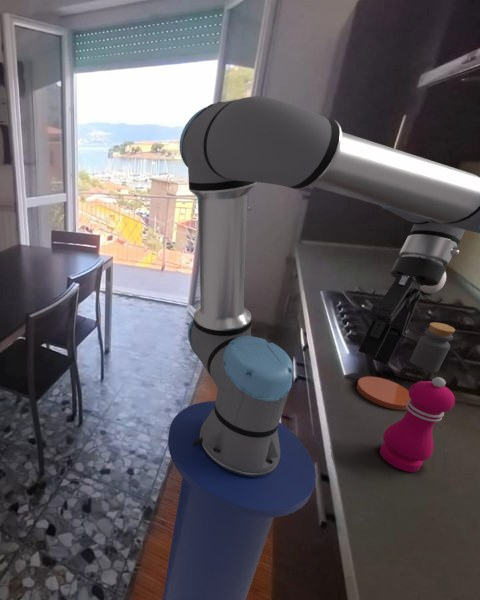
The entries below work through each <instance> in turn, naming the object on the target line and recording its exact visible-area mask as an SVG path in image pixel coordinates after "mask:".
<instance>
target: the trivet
mask: <svg viewBox="0 0 480 600" xmlns="http://www.w3.org/2000/svg"><path fill="white" fill-rule="evenodd" d="M356 390H357V392H358V393H359V394H360V395H361V396H362V397H363V398H365V399H366V400H368V401H369V402H371V403H373V404H375V405H378V406H381V407H382V408H386V409H391V410H396V411H404V410H408V409H407V408H406V404H407V403H408V400H409V399H410V397H409V390H408V389H407V388H405V387H404V386H402V385H400V384H399V383H397V382H395V381H392V380H390V379H386V378H383V377H378V376H363V377H360V378H359V379H358V380H357V384H356Z"/></svg>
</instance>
